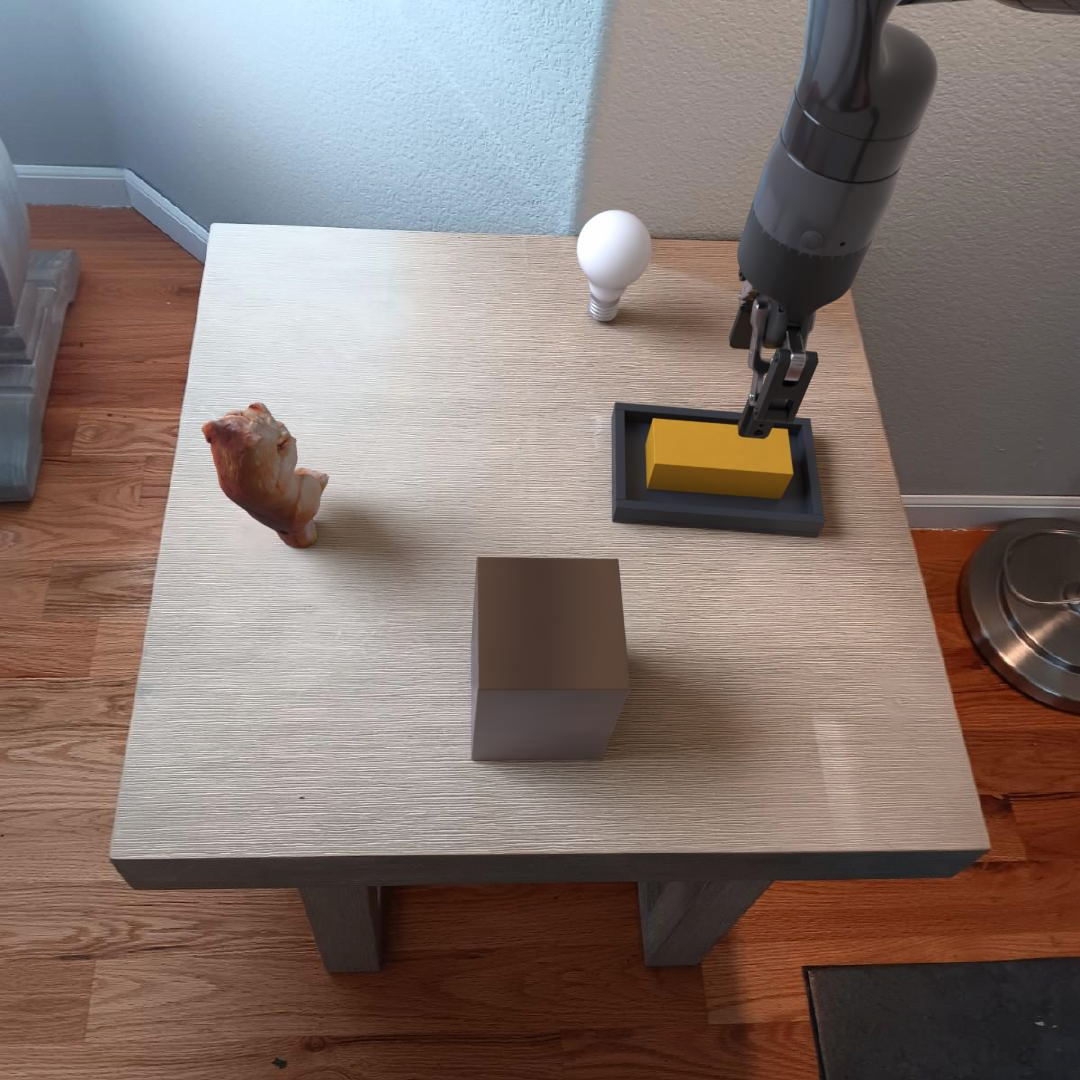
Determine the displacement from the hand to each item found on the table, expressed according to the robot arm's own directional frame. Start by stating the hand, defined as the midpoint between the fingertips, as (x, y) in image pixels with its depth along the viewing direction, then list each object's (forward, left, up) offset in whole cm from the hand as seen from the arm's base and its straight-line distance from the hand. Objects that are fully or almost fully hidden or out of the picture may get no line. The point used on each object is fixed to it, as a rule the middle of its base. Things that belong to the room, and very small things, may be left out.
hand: (746, 388), depth 74 cm
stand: (-7, +24, -11) cm, 27 cm away
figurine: (+15, +31, -11) cm, 36 cm away
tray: (0, 0, -11) cm, 11 cm away
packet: (0, 0, -11) cm, 11 cm away
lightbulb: (+19, -4, -11) cm, 23 cm away
